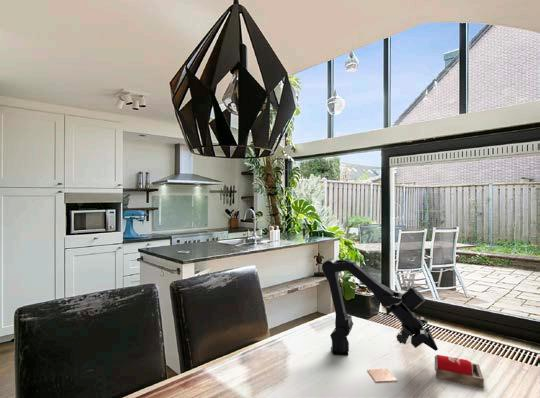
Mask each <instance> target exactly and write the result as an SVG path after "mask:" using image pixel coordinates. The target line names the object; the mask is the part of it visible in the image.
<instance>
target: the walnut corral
mask: <svg viewBox="0 0 540 398" xmlns="http://www.w3.org/2000/svg"><path fill="white" fill-rule="evenodd" d="M472 365H473V376H472V375H466V374H461V373H456V372H451V371H446V370H441V369H436V375H435V376H436V377H435V378H436V379H439V380H445V381H449V382H454V383H457V384H458V383H459V384H463V385H466V386H467V385H468V386H472V387H473V386H474V387H477V388H483V389H484V388H485V386H484V383H485V382H484V377H483V376H484V375H483V373H482V369H481V366H480V364H479V363H473V362H472Z"/></svg>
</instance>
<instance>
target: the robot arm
mask: <svg viewBox="0 0 540 398" xmlns="http://www.w3.org/2000/svg"><path fill="white" fill-rule="evenodd" d="M321 270H322V273H323V275H324V277H325V279H326V281H327V282H328V285H329V289H330V294H331V298H332V303H333V308H334V313H335V320H334V326H335V328H334V329H333V330H332V331H331V333H330V340H331V347H330V349H331V354H332V355H333V356H335V355H336V356H348V355H349V351H350V349H349V347H350V346H349V345H350V342H349V339H348V336H349V335H350V333H351V331H352V329H353V325H354V322H353V319H352V314H350V315H348V313H347V311H346V306H345V302H344V298H343V294H342V290H341V289H342V288H341V285H340V281H339V280H340V279H339V278H340V277H339V274H340V272H349V273H350V274H351V275H352V276H353V277H355V278H356V279H357V280H358V281H359V282H361V283H362V284H363V285H364V286H365V287H366V288H368V289H369V291H371V293H372V295H374V296H373V297H375V298H376V300H377V301H378V302H379V303H380V305H382V306H383V307H385V310H386V313H385V314H386V315H390V313H391V314H393V316H395V318H396V319H397V320H398V322H400V324H401V327H402V328H401V329H400V331H399V332H398V333H397V335H396V336H395V338H396V341H397V342H398V343H399V344H404V345H406V344H407V341H408V339H409V337H410V338H411V339H410V344H411V345H412V346H413V347H414V349H416V348H418V347H419V346H420V345H422V344H425V345H426V346H427V347H429V348H431V349H432V350H434V351H435V352H436V351H438V349H439V348H438V346H437V343H436V342H435V339H434V337H433V334H432V332H431V329H430V327H426V328H425V327H424V325H425V324H426V325H427V324H428V323H429V321H428V320H427V319H426V318H425V317H423V316H420V317H419V318H418V317H416V314H415V312H413V311H411V310H415V309H417V308H419V306H421V305H422V304H423V303H425V301H426V299H425V297H424V295H422V293H420V291H418V290H417V289H415V288H414V287H413V286H410V287H409V288H408V289H407V290H406V291H405V292H403V293H401V292H397V291H394V290H393V289H392V288H390V287H388V286H387V285H385V284H382V283H380V282H379V281H378V280H376V279H374V278H373V276H371V275H370V274H368V273H367V272H366V271H365V270H364V269H363V268H362V267H360V265H359V264H357V263H356V261H354V260H353V259H349V260H348V259H347V260H345V259H335V258H333V257H332V258H329V259H327V260H325V261H324V262H323V263H322V264H321Z"/></svg>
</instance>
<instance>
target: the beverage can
mask: <svg viewBox="0 0 540 398" xmlns="http://www.w3.org/2000/svg"><path fill="white" fill-rule="evenodd" d="M472 363H473V362H471V361H469V360H468V359H464V358H458V357H454V356H453V357H452V356H447V355H441V354H435V356H434V371H436V369H441V370H446V371H451V372H456V373H461V374H466V375H472V376H473V365H472Z"/></svg>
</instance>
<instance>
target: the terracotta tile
mask: <svg viewBox="0 0 540 398" xmlns="http://www.w3.org/2000/svg"><path fill="white" fill-rule="evenodd" d="M367 373H368V374H369V376H370V377H371V378H372V379H373V381H374V382H375V383H377V384H379V383H396V382H398V379H397V378H396V377H395V375H394V374H393V373H392V372H391V370H389V368H373V369H367Z"/></svg>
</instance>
